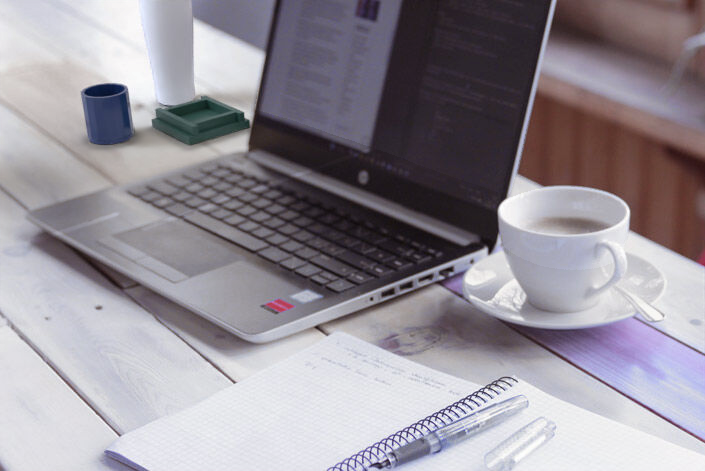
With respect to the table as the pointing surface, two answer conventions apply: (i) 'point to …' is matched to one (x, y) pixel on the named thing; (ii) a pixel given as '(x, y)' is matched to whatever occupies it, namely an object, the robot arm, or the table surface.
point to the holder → (199, 120)
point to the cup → (107, 113)
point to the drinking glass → (170, 48)
